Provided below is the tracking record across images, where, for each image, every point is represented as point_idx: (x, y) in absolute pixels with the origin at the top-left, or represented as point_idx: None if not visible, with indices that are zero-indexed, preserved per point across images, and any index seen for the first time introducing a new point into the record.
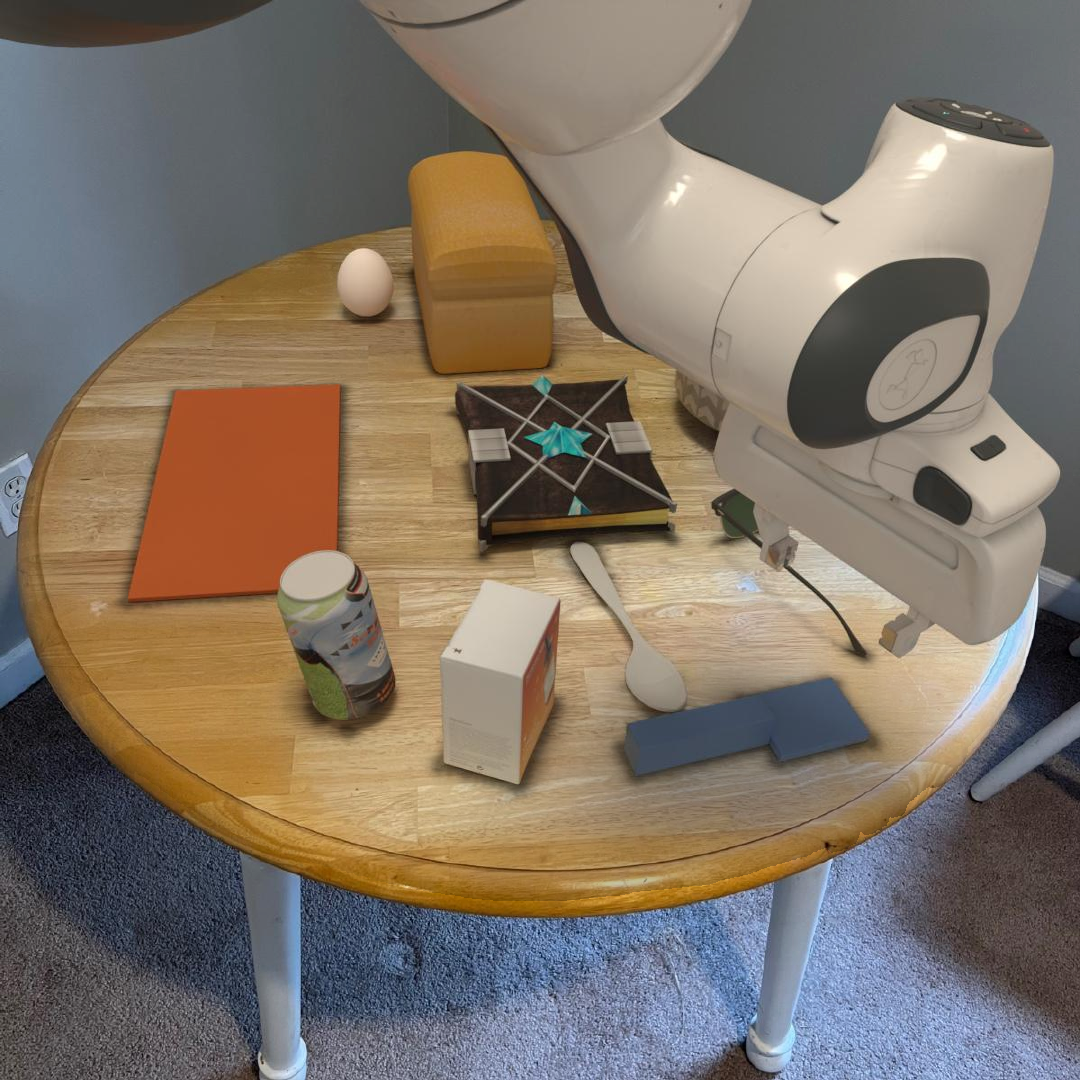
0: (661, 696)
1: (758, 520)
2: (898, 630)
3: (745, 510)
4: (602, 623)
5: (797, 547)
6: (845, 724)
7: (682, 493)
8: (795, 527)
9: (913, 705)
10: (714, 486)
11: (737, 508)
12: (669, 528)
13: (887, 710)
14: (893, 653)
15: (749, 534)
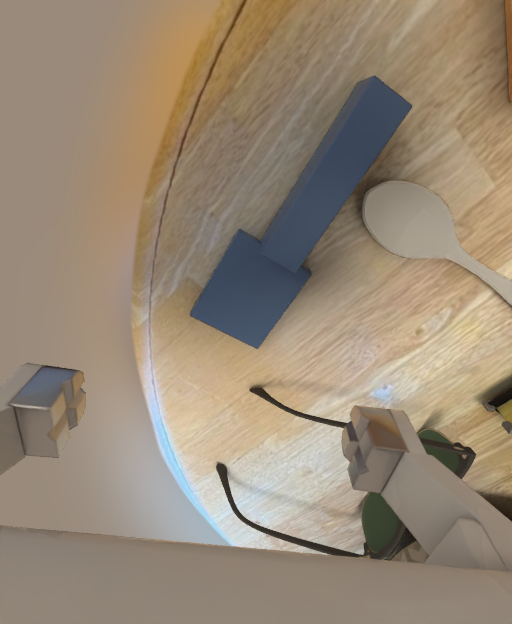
0: (391, 210)
1: (479, 503)
2: (15, 415)
3: None
4: (501, 259)
5: (349, 475)
6: (213, 309)
7: (492, 445)
8: (381, 574)
9: (187, 368)
10: None
11: (441, 459)
12: (490, 404)
13: (200, 350)
14: (34, 365)
15: None
